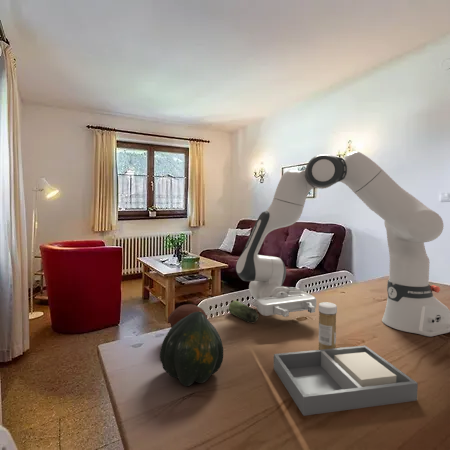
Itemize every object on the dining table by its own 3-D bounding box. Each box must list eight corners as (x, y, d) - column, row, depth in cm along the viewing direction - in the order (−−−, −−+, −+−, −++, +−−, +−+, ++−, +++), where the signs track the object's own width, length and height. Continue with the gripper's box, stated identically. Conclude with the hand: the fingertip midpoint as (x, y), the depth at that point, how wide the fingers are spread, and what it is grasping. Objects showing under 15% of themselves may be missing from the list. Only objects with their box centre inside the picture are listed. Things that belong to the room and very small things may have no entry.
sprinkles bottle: (339, 354, 78) (340, 305, 77) (328, 359, 76) (329, 308, 75) (325, 348, 82) (326, 300, 81) (314, 352, 79) (315, 303, 79)
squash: (149, 375, 59) (197, 314, 62) (147, 344, 74) (186, 296, 76) (202, 411, 62) (246, 352, 65) (190, 375, 77) (226, 328, 79)
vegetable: (225, 314, 108) (225, 300, 108) (237, 311, 111) (237, 298, 111) (250, 326, 97) (250, 312, 96) (262, 323, 100) (262, 308, 99)
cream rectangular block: (364, 366, 71) (365, 352, 71) (395, 392, 61) (396, 375, 61) (334, 369, 69) (334, 355, 69) (360, 396, 60) (361, 379, 59)
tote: (364, 362, 74) (365, 345, 74) (416, 405, 58) (417, 383, 58) (273, 372, 70) (273, 354, 70) (303, 420, 54) (303, 397, 54)
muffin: (189, 328, 95) (189, 297, 95) (215, 338, 88) (215, 305, 88) (159, 341, 86) (159, 307, 85) (186, 353, 79) (185, 316, 78)
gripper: (249, 292, 99) (270, 305, 86) (301, 287, 106) (327, 298, 93) (249, 311, 99) (269, 327, 86) (301, 304, 106) (327, 317, 93)
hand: (300, 312), depth 90 cm, fingers open, 8 cm apart
